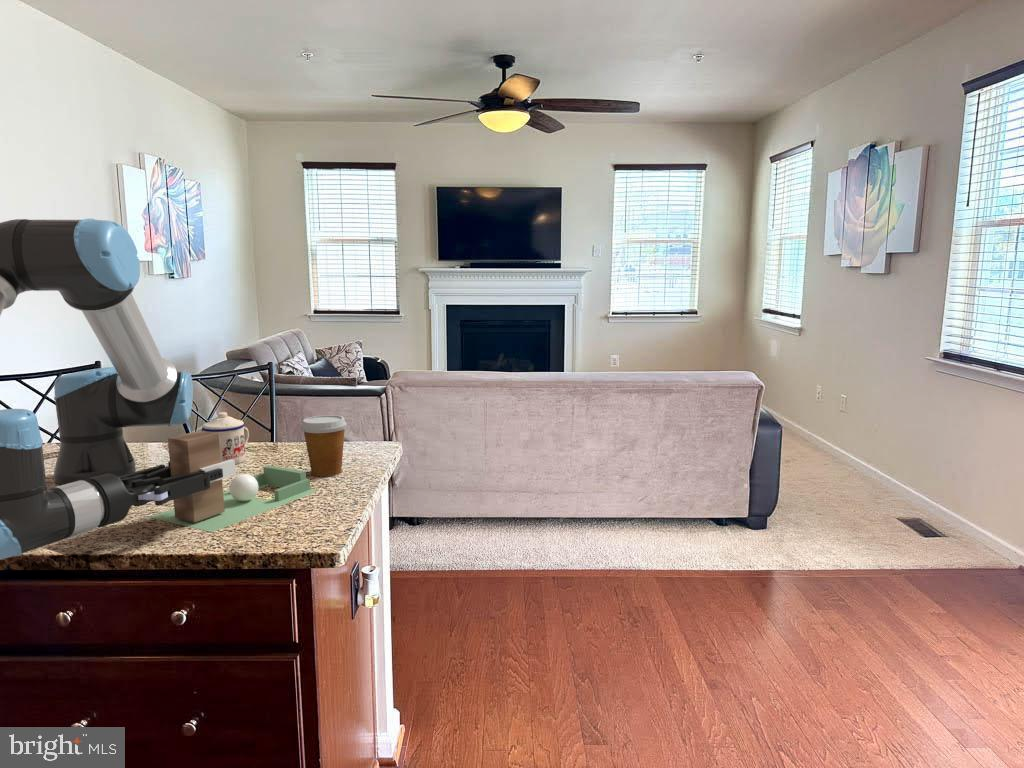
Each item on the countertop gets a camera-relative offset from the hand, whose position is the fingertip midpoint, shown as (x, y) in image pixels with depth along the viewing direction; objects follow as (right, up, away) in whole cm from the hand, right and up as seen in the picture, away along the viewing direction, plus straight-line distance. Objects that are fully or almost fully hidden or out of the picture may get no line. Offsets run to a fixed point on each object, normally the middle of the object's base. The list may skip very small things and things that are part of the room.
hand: (222, 465), depth 120 cm
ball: (+2, -5, +5) cm, 7 cm away
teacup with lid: (-15, -4, +39) cm, 42 cm away
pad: (+1, -9, +4) cm, 10 cm away
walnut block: (-2, -8, -3) cm, 9 cm away
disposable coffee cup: (+11, -5, +28) cm, 30 cm away
